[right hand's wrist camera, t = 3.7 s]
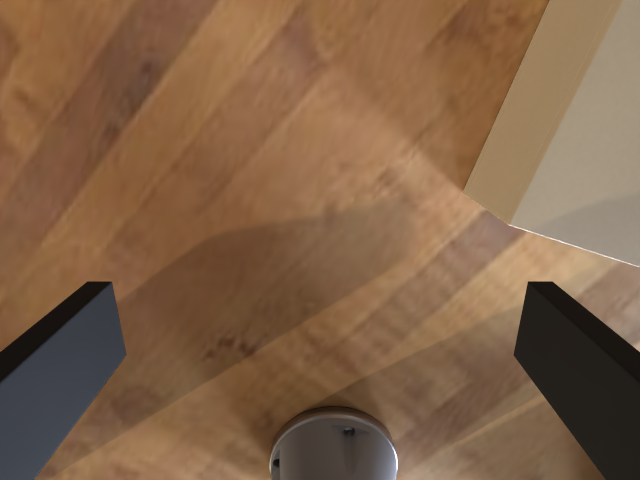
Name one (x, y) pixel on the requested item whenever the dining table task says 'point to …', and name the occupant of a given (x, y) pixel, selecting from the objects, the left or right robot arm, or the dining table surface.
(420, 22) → the dining table surface
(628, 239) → the cabinet
